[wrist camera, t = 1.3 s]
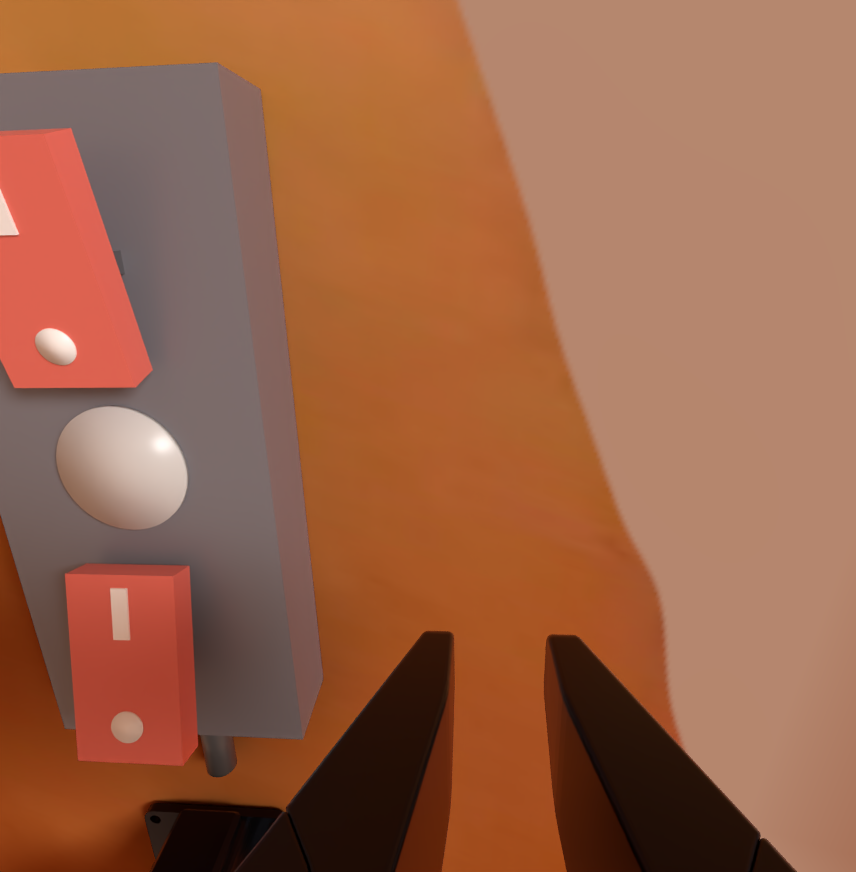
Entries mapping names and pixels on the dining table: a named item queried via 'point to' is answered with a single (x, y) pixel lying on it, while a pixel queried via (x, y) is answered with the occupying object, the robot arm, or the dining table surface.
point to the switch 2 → (132, 663)
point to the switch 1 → (60, 273)
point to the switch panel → (175, 398)
